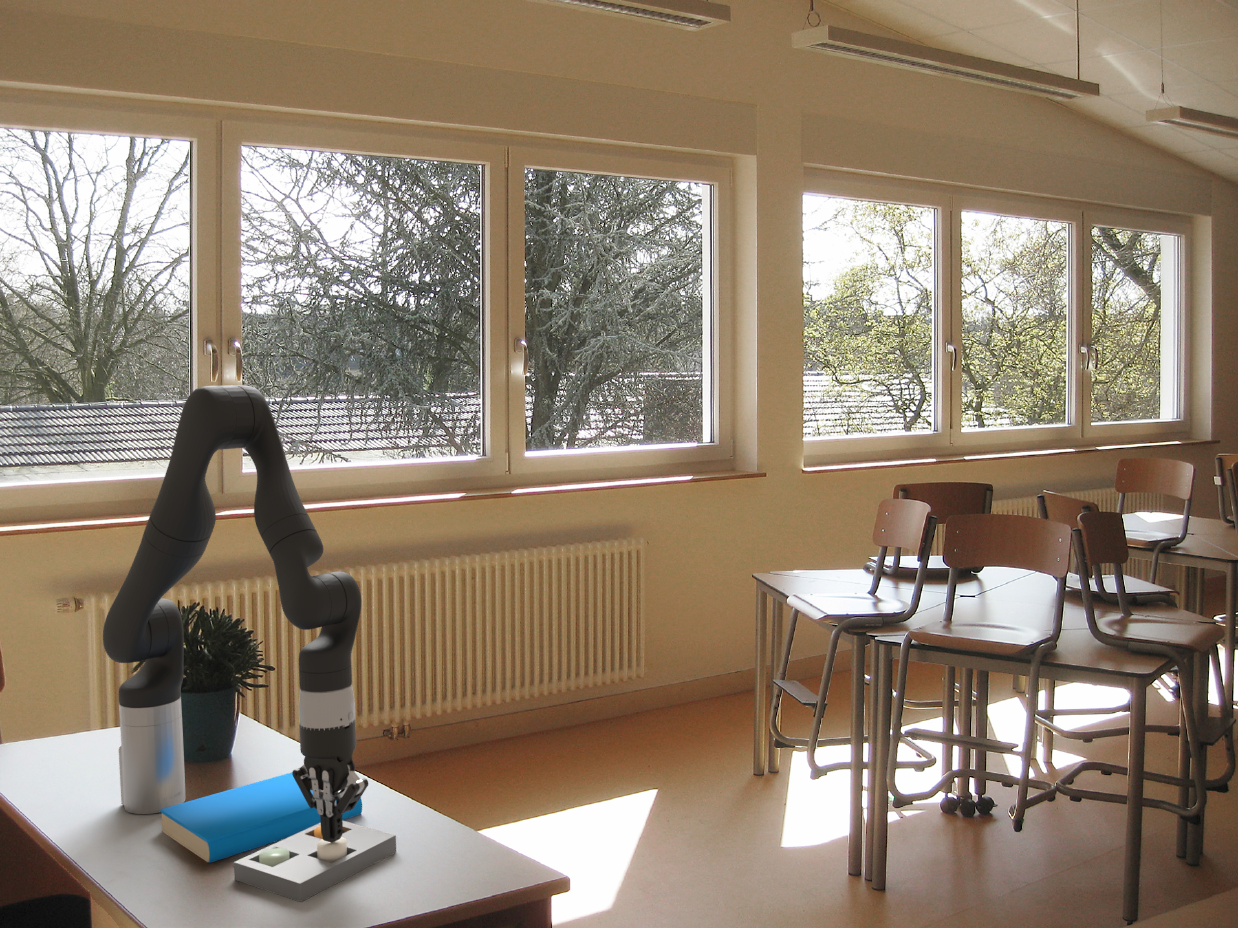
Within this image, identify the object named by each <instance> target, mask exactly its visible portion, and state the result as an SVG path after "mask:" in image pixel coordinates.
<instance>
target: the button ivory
mask: <svg viewBox="0 0 1238 928" xmlns="http://www.w3.org/2000/svg"><path fill="white" fill-rule="evenodd" d="M345 856H347V841H346V839H345V838H343V837H341V838H340V839H339V840H337V841H335V842H332V843H331V842H327V841H324V840H323V839H322V840H320V841H318V843H317V859H320V860H323V861H327V862H330V863H333V862H335V861H337V860H339V859H341V858H343V857H345Z"/></svg>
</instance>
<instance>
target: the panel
mask: <svg viewBox="0 0 1238 928" xmlns="http://www.w3.org/2000/svg"><path fill="white" fill-rule="evenodd" d="M342 822H343V825H342V826H343V834H342V836H341V837H343V838H345V839H346V841H347V856H345V857H343V858H341V859H339V860H337V861H335V862H333V863H330V862H327V861H323V860H320V859H317V843H318V841H320V840H322V839H320V838H316V837H314V829H315V828H316V827H318V826H321V823H319V824H317V825H314V826H312V827H310V828H308V829H306V830H303V831H301V832H299V833H297V834H295V835H292V836H290V837H288V838H285V839H282V840H279V841H276V842H274V843H272V844H271V845H270V844H269V845H268V846H267V847H264V848H262V849H259V850H258V851H255V852H254V853H253V852H252V853H251V854H249V855H247V856H245V857H242V858H240V859H238V860H236V861H234V862H233V870H234V872H233V873H234V880H235V881H237V882H240V883H243V884H247V885H248V886H253V887H255V888H258V889H261V890H265V891H267V892H271V893H273V894H276V895H278V896H279V895H280V896H282V897H285V898H287V899H291V900H293V901H297V902H303V901H306V900H307V899H309V898H311V897H313V896H315V895H317V894H318V893H321V892H323V891H324V890H326V889H329V888H330V887H332V886H334V885H336V884H338V883H341V882H342V881H344V880H345V879H347V878H349V877H351V876H353V875H355V874H357V873H359V872H361V871H363V870H365V869H366V868H368V867H370V866H372V865H374V864H376V863H378V862H380V861H382V860H384V859H387V858H388V857H390V856H391V855H393V854H396V852H397V835H396V834H393V833H389V832H386V831H382V830H378V829H375V828H371V827H368V826H364V825H360V824H356V823H353V822H349V821H345V820H342ZM274 848H284V849H287V850H289V857H290V859H289V860H287V861H284V862H282V863H280V864H278V865H276V866H274V867H271V866H267V865H264V864H261V863H259V855H260V854H261V853H262V852H264V851H266V850H269V849H274Z"/></svg>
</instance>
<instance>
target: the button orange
mask: <svg viewBox="0 0 1238 928" xmlns="http://www.w3.org/2000/svg"><path fill="white" fill-rule="evenodd" d="M314 837H316V838H320V839H323V837H322V834H321V826H318V827H316V828H315V829H314Z"/></svg>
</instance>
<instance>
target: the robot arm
mask: <svg viewBox="0 0 1238 928" xmlns="http://www.w3.org/2000/svg"><path fill="white" fill-rule="evenodd" d="M179 417H180V418H179V420H178V421H179V422H178V425H177V430H176V433H175V437H174V438H175V439H174V443H173V446H172V449H171V456H170V460H169V462H168V466H167V468H166V471H165V475H164V477H163V480H162V483H161V487H160V489H159V491H158V492H159V493H158V495H157V497H156V500H155V502H154V505H153V507H152V509H151V512H150V515H149V517H148V519H147V523H146V525H145V528H144V530H143V531H144V532H143V534H142V537H141V541H140V544H139V546H138V549H137V552H136V554H135V556H134V559H133V561H132V564H131V566H130V568H129V570H128V573H127V575H126V577H125V579H124V581H123V583H122V585H121V587H120V589H119V590H118V593H117V594H116V597H115V599H114V600H113V602H112V604H111V606H110V608H109V610H108V613H107V614H106V617H105V622H104V624H103V631H102V643H103V648H104V652H106V655H107V656H108V658H109V659H110V660H112V661H113V662H116V663H119V664H131V663H133V664H134V663H137V662H141V661H144V664H143V665H142V667H141V668H140V669H139V670H138V671H137V672H136V673H135V674H133V675H132V676H131V677H129V678H128V679H126V680H125V681H123V683H121V684H120V686H119V687H118V709H119V726H120V743H121V744H120V746H119V747H118V761H119V762H118V763H119V783H120V784H119V785H120V802H121V803H120V804H121V805H123V806H124V808H123V809H124V810H125V811H126V812H128V813H131V814H135V815H149V814H158V813H161V811H160V809H163V808H167V807H170V806H174V805H177V804H181V803H184V802H186V782H185V781H186V779H185V776H186V775H185V773H186V772H185V756H184V755H185V754H184V736H183V735H184V734H183V733H184V732H183V716H182V715H183V714H182V713H183V711H182V694H181V693H182V692H181V691H182V690H181V688H182V684H183V681H184V647H185V645H184V644H185V643H184V642H185V641H184V640H185V638H184V635H185V634H184V633H185V632H184V631H185V630H184V623H183V619H182V614H181V612H180V610H179V608H178V606H177V605H176V603H175V602H174V601H173V600H172V599H169V598H163V596H164V595H165V594H166V593H168V592H169V591H170V590H171V588H173V587H174V586H175V585H176V584H177V583H178V582H180V581H181V580H182V579H183V578H184V577H185V576H186V575H187V574H188V573H189V572H190V571H191V570H193V568H194V567H195V566H196V565H197V564H198V563H199V561H200V560H201V558H202V556H203V555H204V554H205V552H206V549H207V547H208V543H209V541H210V539H211V536H212V533H213V532H214V529H215V525H216V522H217V521H216V520H217V514H216V509H215V504H214V501H213V499H212V496H211V492H210V490H209V489H208V485H207V482H206V475H207V472H208V468H209V465H210V462H211V460H212V458H213V456H214V454H215V453H216V452H217V451H219V450H233V449H235V450H236V449H244V450H245V451H246V452H247V454H248V455H249V457H250V459H251V460H252V462H253V464H254V467H255V471H256V490H255V494H254V495H255V496H254V504H253V515H254V521H255V525H256V528H257V531H258V533H259V535H260V537H261V539H262V541H263V544H264V546H265V547H266V549H267V552H268V553H269V556H270V558H271V559H272V561H273V564H274V570H275V575H276V581H277V587H278V591H279V598H280V603H281V608H282V612H283V614H284V615H285V618H286V619H287V620H288V621H289V623H291V625H293V626H294V627H296V628H298V629H300V630H304V631H307V630H308V631H309V630H313V629H317V628H321V629H320V632H319V635H318V636H317V637H316V638H315V639H313V640H312V641H310V642H308V643H307V644H306V645H305V646H303V647H302V648H301V649H300V650H299V653H298V654H299V655H298V678H299V680H298V681H299V696H298V697H299V698H298V723H299V744H300V745H299V746H300V749H299V750H300V753H301V755H302V756H303V757H304V758H303V764H302V766H300V767H298V768H296V769H293V770H292V775H293V777H294V779H295V781H296V783H297V785H298V786H299V788H300V790H301V792H302V794H303V796H304V798H305V800H306V802H307V803H308V805H309V807H310V808H316V809H317V811H318V814H319V815H320V821H321V834H322V837H323V840H324V841H327V842H331V843H332V842H335V841H337V840H339V839H340V838H341V836H342V834H343V826H342V825H343V822H342V821H343V820H342V814H343V813H345V812H347V811H350V810H352V809H353V808H354V807H355V805H356V804H357V802H358V801H359V799H360V797H361V798H362V796H363V794H364V793H365V792H366V790H367V788H368V786H369V781H368V779H367V778H365V777H363V778H362V779H361V778H360V777H359V776H358V774H357V773H356V772H355V771H356V765H355V762H354V760H353V754H354V751H355V750H356V748H357V727H356V726H357V725H356V704H355V701H356V700H355V695H354V694H355V693H354V690H353V674H352V673H353V671H352V670H353V668H352V653H353V652H352V651H353V648H354V643H355V639H356V636H357V630H358V627H359V623H360V622H359V621H360V617H361V611H362V594H361V590H360V587H359V585H358V583H357V581H356V579H355V578H354V577H353V576H352V575H351V574H349V573H347V572H343V571H331V572H326V573H323V574H321V573H320V574H317V575H311V574H310V572H309V570H308V568H309V567H310V566H313V565H314V564H316V563H317V561H319V560H320V559H321V558H322V556H323V553H324V545H323V542H322V539H321V537H320V535H319V533H318V531H317V529H316V527H315V525H314V523H313V522H312V520H311V518H310V516H309V514H308V512H307V510H306V508H305V506H304V504H303V502H302V499H301V497H300V495H299V493H298V489H297V487H296V485H295V482H294V480H293V476H292V474H291V470H290V466H289V463H288V461H287V460H288V459H287V456H286V453H285V450H284V446H283V444H282V440H281V437H280V434H279V431H278V428H277V425H276V422H275V419H274V416H273V413H272V411H271V408H270V405H269V402H267V400H266V398H265V396H264V395H263V394H262V393H261V392H260V390H259V389H257V388H256V387H253V386H251V385H243V384H242V385H241V384H240V385H239V384H236V385H234V384H233V385H231V384H230V385H204V386H200V387H197V388H196V389H194V390H193V391H191V393H190V394H189V395H188V397H187V399H186V401H185V403H184V405H183V408H182V411H181V414H180V416H179ZM311 790H313V795H312V793H311Z"/></svg>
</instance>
